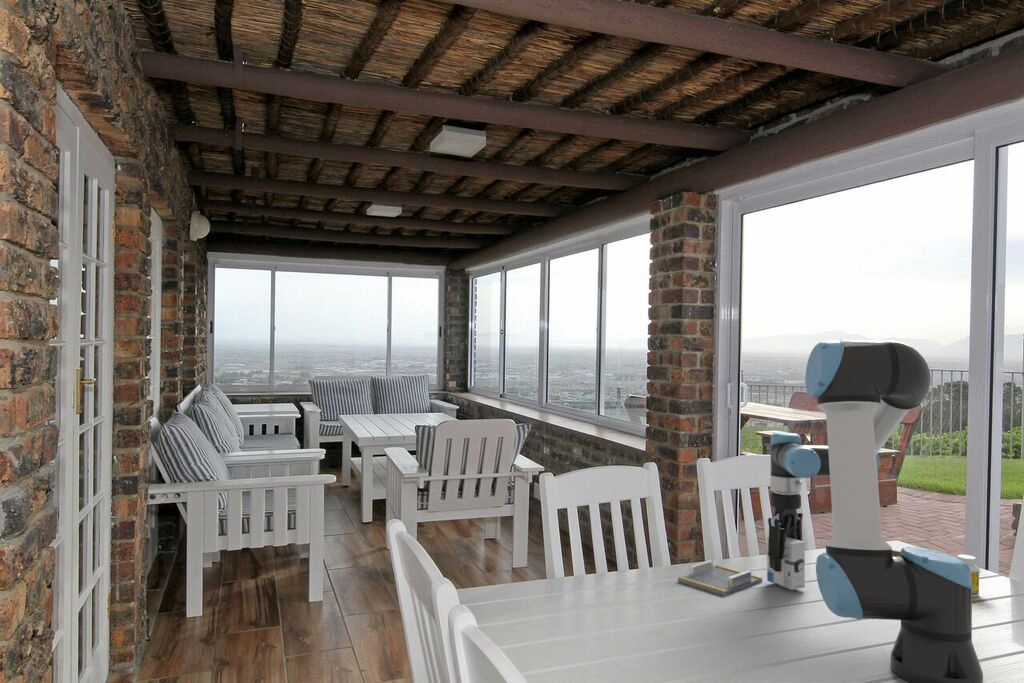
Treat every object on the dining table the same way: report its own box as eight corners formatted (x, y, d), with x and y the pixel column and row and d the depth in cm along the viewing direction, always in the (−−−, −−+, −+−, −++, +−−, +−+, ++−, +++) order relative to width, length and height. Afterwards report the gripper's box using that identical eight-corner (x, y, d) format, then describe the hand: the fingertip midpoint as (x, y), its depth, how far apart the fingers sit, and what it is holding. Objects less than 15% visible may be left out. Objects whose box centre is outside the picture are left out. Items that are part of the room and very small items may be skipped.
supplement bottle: (952, 589, 183) (952, 552, 183) (976, 592, 181) (976, 555, 181) (956, 595, 178) (956, 558, 178) (981, 599, 176) (981, 560, 176)
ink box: (766, 580, 186) (766, 536, 186) (780, 578, 188) (780, 534, 188) (791, 590, 178) (791, 543, 178) (805, 588, 180) (805, 542, 180)
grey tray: (723, 596, 175) (724, 582, 176) (677, 582, 186) (677, 568, 186) (762, 581, 187) (762, 568, 187) (716, 569, 198) (716, 556, 198)
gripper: (780, 498, 175) (780, 592, 174) (816, 490, 187) (817, 577, 186) (753, 493, 180) (753, 584, 180) (790, 486, 192) (790, 571, 192)
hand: (785, 580), depth 183 cm, fingers closed on ink box, 6 cm apart
